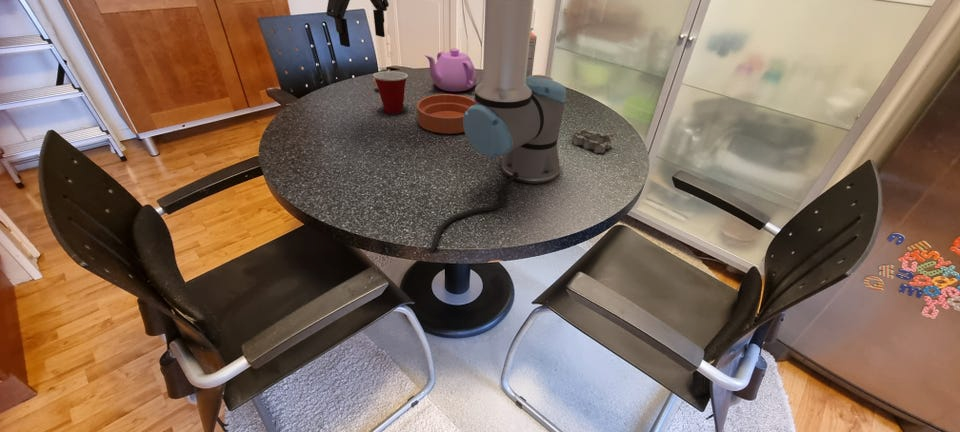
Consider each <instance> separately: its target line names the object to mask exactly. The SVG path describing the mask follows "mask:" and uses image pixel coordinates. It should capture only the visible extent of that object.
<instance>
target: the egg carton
mask: <svg viewBox="0 0 960 432" xmlns="http://www.w3.org/2000/svg"><path fill="white" fill-rule="evenodd" d="M572 133H573V135H572V140H571V142H573V145H574V146H582V147H583V149H584V150H593V152H594V153H595V154H599V153H601V154H603V153H605V151H606V150H609V149H610V146H611V144H612V143H611V142H612V139H614V137H615V136H614V135H615V134H612V133H609V132H604V133H602V132H595V131H594V130H593V131H592V130H586V129H585V128H579V129H577V130H575V131H572Z"/></svg>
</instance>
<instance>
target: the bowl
mask: <svg viewBox="0 0 960 432" xmlns="http://www.w3.org/2000/svg"><path fill="white" fill-rule="evenodd" d="M473 105H475V99H473V98H471V97H468V96H464V95H462V94H461V95H460V94H451V93H444V94H441V93H440V94H433V95H429V96H425V97H424V98H421V99H420V100H419V101H417V102H416V119H417V123H418V125H419V126H420V127H421V128H423V129H424V130H427V131H429V132H432V133H437V134H448V135H449V134H450V135H452V134H460V133H465V132H464V127H463V117H464V114H465V112H466V111H467V110H468V109H469V107H470V106H473Z"/></svg>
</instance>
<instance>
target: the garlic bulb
mask: <svg viewBox="0 0 960 432" xmlns="http://www.w3.org/2000/svg"><path fill="white" fill-rule="evenodd" d="M386 71H391V69H390V68H388V69H387V70H386ZM372 83H373V86H374V87H375V88H376V89H377V90H378V91H379V89H378V86H377V83H376V81H375V78H374V77H373V79H372Z"/></svg>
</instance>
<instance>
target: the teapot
mask: <svg viewBox="0 0 960 432" xmlns="http://www.w3.org/2000/svg"><path fill="white" fill-rule="evenodd" d="M424 57H425V58H427V60H428V62H429V63H428V64H429V75H430V78H431V80H432V82H433V84H434V85H435V86H436V87H437V88H438V89H440V90H442V91H446V92H452V93H456V92H457V93H458V92H465V91H468V90H471V89H472V88H473V87H474V86H475V85H476V83H477V80H478V79H477V78H478V75H477V71H476V68H475V65H474V64H473V61H472V60H471V57H469V55H468V54H466V53H464V52H461V51H460V49H459V48H450V49H449V51H446V52H445V51H439V52H438V53H437V55H436V62H435V58H434V57H433V56H431V55H424Z"/></svg>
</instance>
